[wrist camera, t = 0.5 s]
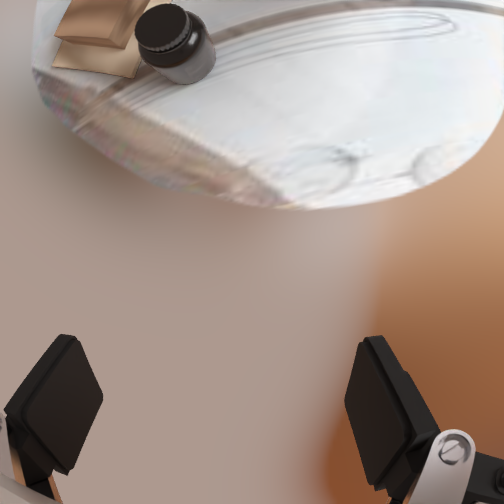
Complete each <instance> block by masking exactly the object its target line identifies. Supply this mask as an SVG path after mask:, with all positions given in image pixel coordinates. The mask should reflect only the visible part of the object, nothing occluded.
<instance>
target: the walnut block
mask: <svg viewBox="0 0 504 504" xmlns="http://www.w3.org/2000/svg"><path fill="white" fill-rule="evenodd" d="M149 2H150V0H72V1H71V3H70V5H69V7H68V9H67V10H66V12H65V14H64V16H63V18H62V20H61V22H60V24H59V26H58V28H57V30H56V32H55V34H54V36H56V37H58V38H60V39H63V40H65V41H67V42H69V43H71V44H75V45H89V46H99V47H108V48H116V49H124V50H125V48H126V46H127V44H128V42H129V40H130V37H131V35H132V33H133V31H134V29H135V25H136V22H137V21H138V19H139V17H141V16H142V14H143V12H144V10H145V9H146V7H147V5H148V3H149Z"/></svg>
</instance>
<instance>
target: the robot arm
mask: <svg viewBox="0 0 504 504" xmlns="http://www.w3.org/2000/svg"><path fill="white" fill-rule="evenodd" d="M102 401H103V393H102V390H101V388H100V387H99V384H98V382H97V380H96V378H95V376H94V373H93V371H92V369H91V367H90V365H89V362H88V360H87V357H86V355H85V352H84V350H83V347H82V345H81V343H80V341H78V340H77V338H76V337H75V336H72V335H65V334H60V335H59V336H58V337H57V338H56V339H55V341H54V342H53V343H52V344H51V345H50V347H49V348H48V349H47V350H46V352H45V353H44V354H43V356H42V357H41V358H40V360H39V361H38V362H37V363H36V365H35V366H34V367H33V369H32V370H31V371H30V373H29V374H28V375H27V377H26V378H25V379H24V381H23V382H22V384H21V385H20V386H19V388H18V389H17V391H16V392H15V393H14V395H13V396H12V398H11V399H10V401H9V402H8V404H7V405H6V407H5V408H4V411H5V413H6V414H7V416H6V418H5V417H4V416H3V415H2V413H0V504H63V503H62V500H61V497H60V495H59V492H58V490H57V487H56V484H55V481H54V478H53V476H52V471H53V469H54V470H55V471H57V472H59V473H62V474H65V475H68V473H69V471H70V470H71V469H73V468H74V466H75V463H76V461H77V458H78V456H79V454H80V451H81V449H82V446H83V444H84V442H85V439H86V437H87V435H88V432H89V430H90V428H91V426H92V423H93V421H94V419H95V417H96V415H97V412H98V410H99V408H100V406H101V404H102ZM344 401H345V408H346V411H347V414H348V417H349V420H350V424H351V427H352V430H353V434H354V437H355V440H356V443H357V447H358V450H359V453H360V457H361V460H362V464H363V467H364V471H365V474H366V478H367V481H368V483H369V485H374V489H375V491H378V490H382V489H385V488H386V489H387V493H388V496H389V499H388V501H387V503H386V504H504V460H502V459H499V458H495V457H492V456H489V455H485V454H482V453H479V452H476V451H475V445H474V441H473V440H472V438H471V437H470V436H469V435H468V434H466V433H465V432H463V431H460V430H454V429H452V430H446V431H444V432H442V433H441V431H440V429H439V427H438V425H437V424H436V422H435V420H434V418H433V416H432V414H431V412H430V410H429V409H428V407H427V405H426V403H425V401H424V400H423V398H422V396H421V394H420V392H419V391H418V389H417V387H416V385H415V384H414V382H413V380H412V378H411V377H410V375H409V374H408V372H406V371H404V370H403V369H402V367H401V365H400V363H399V362H398V360H397V358H396V356H395V355H394V353H393V351H392V350H391V348H390V346H389V345H388V343H387V342H386V340H385V338H384V337H383V336H382V335H380V336H371V337H365V338H364V340H363V342H360V343H359V344H358V348H357V352H356V356H355V360H354V364H353V369H352V372H351V376H350V380H349V383H348V387H347V391H346V394H345V400H344Z"/></svg>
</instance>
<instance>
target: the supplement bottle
mask: <svg viewBox="0 0 504 504" xmlns="http://www.w3.org/2000/svg"><path fill="white" fill-rule="evenodd" d="M134 32H135V33H134V35H135V36H136V37H135V38H136V40H137V41H138V50H139V53H140V56H141V58H142V59H143V60H144V61H145V62H146V63H147V64H148V65H150V66H151V67H152V68H154V69H155V70H156V71H158V72H159V73H161V74H162V75H163V76H165V77H166V78H167V79H169V80H170V81H172V82H175V83H178V84H191V83H194V82H197V81H199V80H201V79H203V78H204V77H205V76H207V75H208V74H209V73H210V71H211V70H212V68H213V66H214V64H215V61H216V52H215V48H214V46H213V43H212V41H211V38H210V36H209V34H208V31H207V29H206V27H205V25H204V23H203V21H202V20H201V19H200V18H199V17H198V16H197V15H195V14H194V13H192V12H189V11H185V10H184V9H183V8H181V7H180V6H177V5H176V4H171V3H170V4H167V3H165V4H160V5H156V6H154V7H151V8H150V9H149V10H146V12H145V13H143V14H142V16H141V17H139V19H138V21H137V22H136V25H135V29H134Z"/></svg>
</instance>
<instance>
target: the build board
mask: <svg viewBox="0 0 504 504" xmlns="http://www.w3.org/2000/svg"><path fill="white" fill-rule="evenodd" d="M171 1H172V0H150V2H149V3H148V5H147V7H146V9H145V10H144V12H143V13H145V12H146V10H149V9H150V8H151V7H154V6H156V5H160V4H165V3H167V4H170V3H171ZM134 33H135V32H134V31H133V33H132V35H131V37H130V40H129V42H128V44H127V46H126V48H125V50H124V49H116V48H108V47H99V46H89V45H75V44H71V43H69V42H67V41H65V40H63V41H62V43H61V46H60V48H59V50H58V53H57V55H56V57H55V60H54V62H53V65H52V66H54V67H61V68H70V69H78V70H86V71H93V72H99V73H106V74H111V75H117V76H122V77H127V78H132V79H134V76H135V74H136V72H137V69H138V67H139V64H140V62H141V60H142V58H141V56H140V53H139V50H138V41H137V40H136V38H135V37H136V36H135V35H134Z"/></svg>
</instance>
